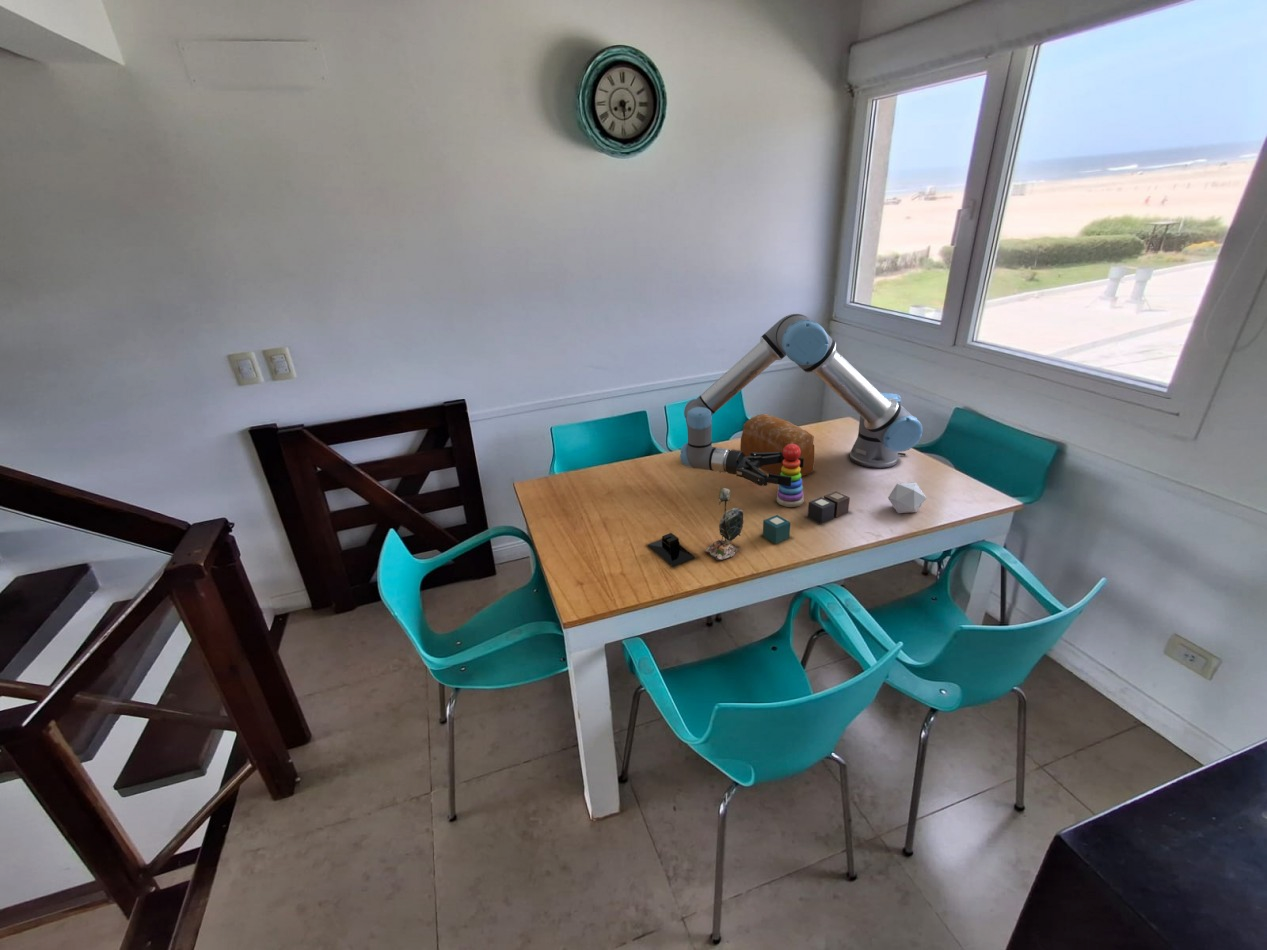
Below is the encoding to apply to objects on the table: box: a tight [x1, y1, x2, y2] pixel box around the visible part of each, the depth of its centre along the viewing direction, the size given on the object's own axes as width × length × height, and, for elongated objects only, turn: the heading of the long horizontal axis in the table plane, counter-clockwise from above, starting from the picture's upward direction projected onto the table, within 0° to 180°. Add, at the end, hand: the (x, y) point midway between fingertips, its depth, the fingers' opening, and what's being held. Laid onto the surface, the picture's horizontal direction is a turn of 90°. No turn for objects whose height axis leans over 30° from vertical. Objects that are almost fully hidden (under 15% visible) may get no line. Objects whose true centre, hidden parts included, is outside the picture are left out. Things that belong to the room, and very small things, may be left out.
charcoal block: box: [807, 496, 835, 525], centre depth 157 cm, size 5×5×5 cm
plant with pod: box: [704, 487, 745, 561], centre depth 143 cm, size 8×11×20 cm
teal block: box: [762, 514, 791, 545], centre depth 150 cm, size 5×5×5 cm
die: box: [887, 482, 927, 514], centre depth 158 cm, size 8×9×10 cm
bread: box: [739, 413, 815, 477], centre depth 190 cm, size 14×26×16 cm, turn 26°
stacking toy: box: [776, 444, 805, 508], centre depth 164 cm, size 8×8×19 cm
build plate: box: [647, 532, 696, 568], centre depth 147 cm, size 12×7×5 cm, turn 30°
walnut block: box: [823, 490, 851, 518], centre depth 160 cm, size 5×5×5 cm
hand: (797, 472), depth 163 cm, fingers open, 13 cm apart
